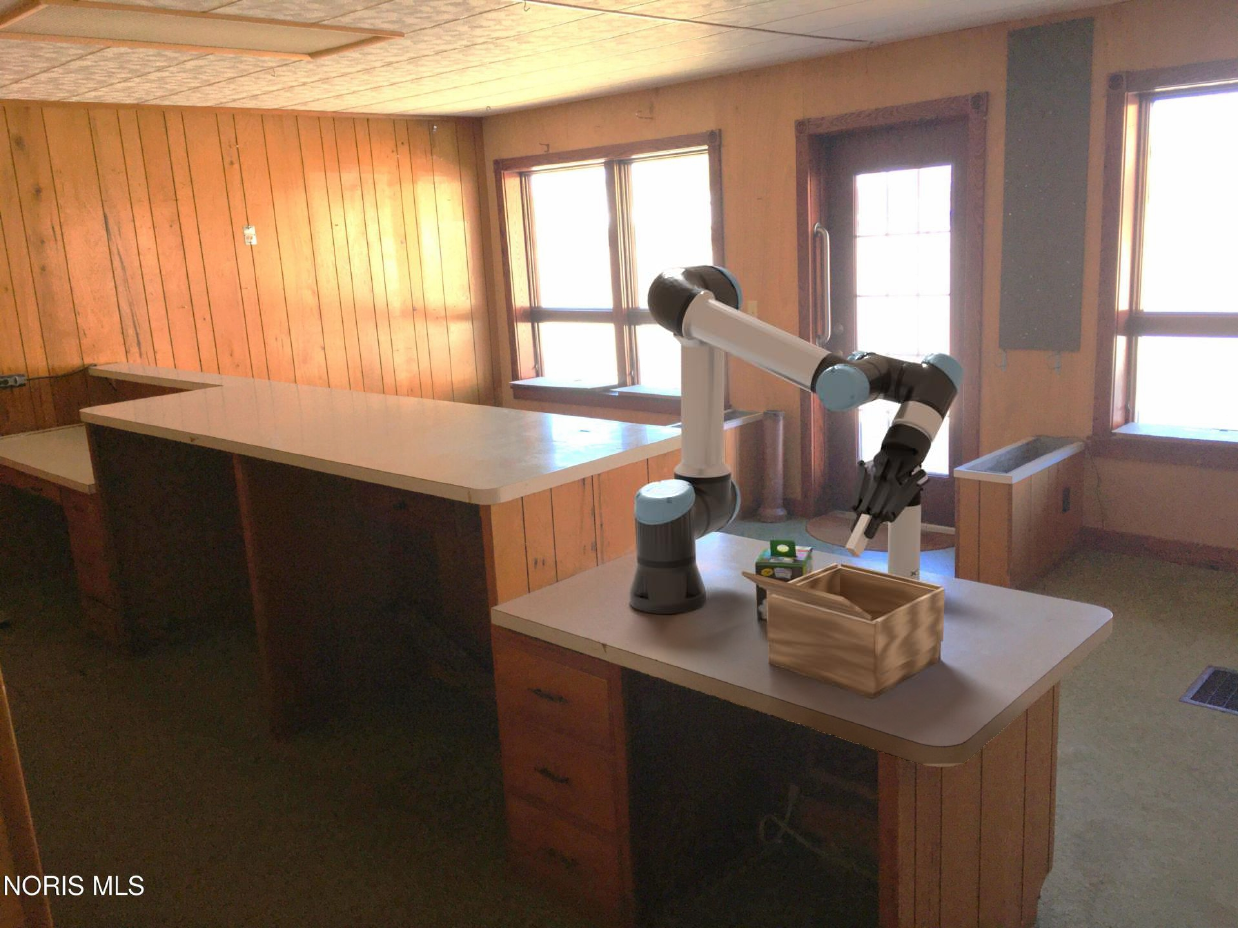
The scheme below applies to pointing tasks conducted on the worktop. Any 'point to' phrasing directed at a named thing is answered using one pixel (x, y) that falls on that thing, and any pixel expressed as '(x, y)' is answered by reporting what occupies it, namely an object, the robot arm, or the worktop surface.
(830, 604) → the flap
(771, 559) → the chalk box
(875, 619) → the light wood open box
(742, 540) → the worktop surface
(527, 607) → the worktop surface
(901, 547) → the travel mug
